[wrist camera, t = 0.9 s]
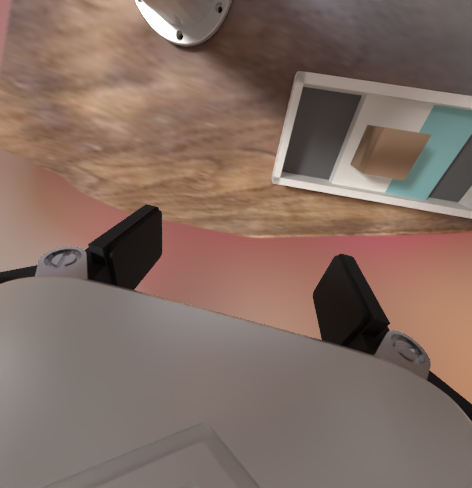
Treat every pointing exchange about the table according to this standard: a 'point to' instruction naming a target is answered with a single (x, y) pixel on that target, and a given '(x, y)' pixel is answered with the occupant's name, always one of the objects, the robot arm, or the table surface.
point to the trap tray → (352, 129)
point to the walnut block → (388, 151)
